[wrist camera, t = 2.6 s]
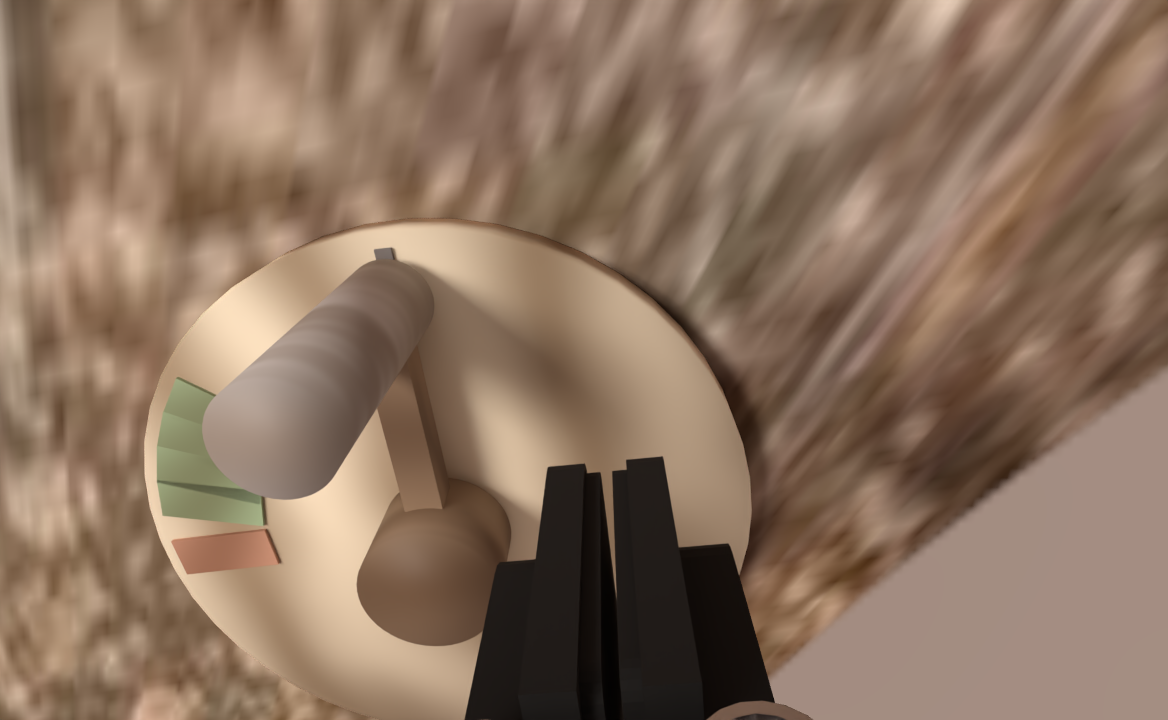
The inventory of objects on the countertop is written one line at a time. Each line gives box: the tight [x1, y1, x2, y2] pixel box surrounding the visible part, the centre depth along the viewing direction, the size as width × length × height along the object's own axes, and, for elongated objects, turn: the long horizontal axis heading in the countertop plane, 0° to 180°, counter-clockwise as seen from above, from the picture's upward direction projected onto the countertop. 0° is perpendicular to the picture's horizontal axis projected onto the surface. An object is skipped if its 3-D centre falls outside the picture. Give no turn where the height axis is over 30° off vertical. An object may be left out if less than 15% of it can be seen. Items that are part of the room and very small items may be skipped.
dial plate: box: [145, 218, 752, 720], centre depth 25 cm, size 21×21×2 cm
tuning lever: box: [202, 259, 511, 646], centre depth 19 cm, size 12×4×8 cm, turn 7°
